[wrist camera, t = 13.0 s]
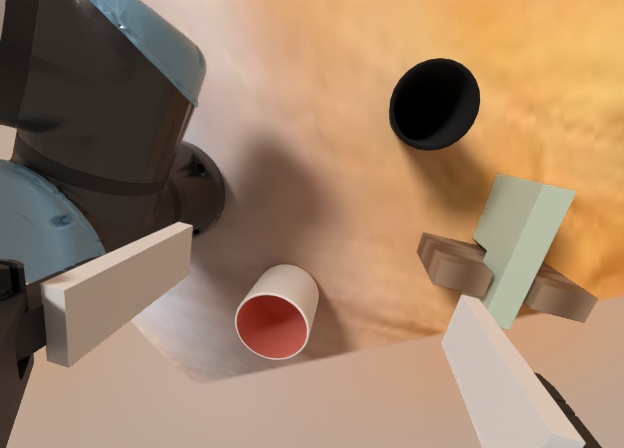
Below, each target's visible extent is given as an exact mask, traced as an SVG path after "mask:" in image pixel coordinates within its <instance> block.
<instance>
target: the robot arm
mask: <svg viewBox="0 0 624 448" xmlns="http://www.w3.org/2000/svg"><path fill="white" fill-rule="evenodd" d="M205 74H206V61H205V58H204V55H203V54H202V52H201V50H200V49H199V48H198V47H197V46H196V45H195V44H194V43H193V42H192V41H191V40H190V39H189V38H187V37H186V36H185V35H184V34H183V33H181V32H180V31H179V30H178V29H176V28H175V27H174V26H173V25H171V24H170V23H169V22H168V21H166V20H165V19H164V18H162V17H161V16H160V15H159V14H157V13H156V12H155V11H153V10H152V9H151V8H150V7H148V6H147V5H146V4H144V3H143V2H142V1H140V0H0V125H5V126H9V127H13V128H16V129H17V133H16V138H15V144H14V148H13V154H12V157H11V159H10V160H9V161H6V160H3V159H1V160H0V448H6V446H7V443H8V440H9V436H10V433H11V430H12V427H13V424H14V421H15V418H16V415H17V412H18V409H19V406H20V403H21V400H22V397H23V394H24V391H25V388H26V385H27V382H28V379H29V376H30V373H31V370H32V367H33V364H34V355H33V353H34V352H36V351H38V350H39V349H41V348H42V347H44V346H45V345H46V353H47V361H50V362H53V363H56V364H59V365H62V366H65V367H70V366H72V365H73V364H74V363H76V362H77V361H78V360H79V359H81V358H82V357H83V356H85V355H86V354H87V353H88V352H90V351H91V350H92V349H94V348H95V347H96V346H98V345H99V344H100V343H101V342H103V341H104V340H105V339H107V338H108V337H109V336H110V335H112V334H113V333H114V332H116V331H117V330H118V329H119V328H121V327H122V326H123V325H125V324H126V323H127V322H128V321H130V320H131V319H132V318H134V317H135V316H136V315H137V314H139V313H140V312H141V311H143V310H144V309H145V308H146V307H148V306H149V305H150V304H152V303H153V302H154V301H155V300H157V299H158V298H159V297H161V296H162V295H163V294H164V293H166V292H167V291H168V290H170V289H171V288H172V287H173V286H175V285H176V284H177V283H179V282H180V281H181V280H182V279H184V278H185V277H186V276H188V275H189V267H190V255H191V243H192V238H195V237H197V236H199V235H201V234H203V233H204V232H206V231H208V230H209V229H210V228H211V227H212V226H214V224H215V223H216V222H217V221H218V219H219V217H220V215H221V213H222V210H223V206H224V200H225V192H224V185H223V181H222V178H221V175H220V173H219V171H218V169H217V167H216V165H215V164H214V162H213V161H212V160H211V159H210V157H209V156H208V155H207V154H206V153H204V152H203V151H202V150H201V149H199V148H198V147H196V146H194V145H193V144H190V143H188V142H185V141H182V139H183V137H184V134H185V132H186V129H187V127H188V124H189V122H190V119H191V117H192V114H193V112H194V109H195V107H196V108H197V106H198V101H197V100H198V96H199V93H200V90H201V87H202V84H203V81H204V77H205ZM26 282H27V283H30V284H28V285H26ZM441 344H442V346H443V349H444V352H445V354H446V357H447V359H448V362H449V364H450V367H451V369H452V372H453V374H454V377H455V380H456V382H457V385H458V387H459V390H460V392H461V395H462V397H463V400H464V402H465V405H466V407H467V410H468V413H469V415H470V417H471V420H472V423H473V425H474V428H475V430H476V433H477V435H478V438H479V440H480V443H481V445H482V448H602V447H601V446H600V445H599V444H598V442H597V441H596V440H595V438H594V437H593V436H592V435H591V434H590V432H589V431H588V429H587V428H586V427H585V426H584V425H583V423H582V422H581V420H580V419H579V418H578V417H577V416H575V413H574V411H573V410H572V409H571V408H570V407H569V405H568V404H566V401H565V400H564V399H563V397H562V396H561V395H560V394H559V392H558V391H557V390H556V389H555V388H554V386H552V385H551V384H550V383H549V382H548V381H547V380H546V379H544V378H543V377H542V376H541V375H540V374H538V373H534V372H533V371H532V370H531V369H530V367H529V366H528V364H527V363H526V362H525V360H524V359H523V358H522V357H521V355H520V354H519V353H518V351H517V350H516V348H515V347H514V346H513V344H512V343H511V342H510V340H509V339H508V337H507V336H506V335H505V333H504V332H503V331H502V329H501V328H500V327H499V325H498V324H497V323H496V321H495V320H494V319H493V317H492V316H491V315H490V313H489V312H488V311H487V309H486V308H485V306H484V305H483V304H482V302H481V301H480V300H479V299H478V298H474V297H470V296H466V295H461V297H460V299H459V302H458V304H457V307H456V309H455V312H454V314H453V316H452V319H451V321H450V324H449V326H448V329H447V331H446V334H445V336H444V339H443V341H442V343H441Z"/></svg>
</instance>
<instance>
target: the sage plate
mask: <svg viewBox="0 0 624 448" xmlns="http://www.w3.org/2000/svg"><path fill="white" fill-rule="evenodd" d="M575 194H576V191H573V190H569V189H565V188H560V187H556V186H552V185H548V184H543V183H539V182H535V181H531V180H526V179H522V178H518V177H513V176H508V175H503V174H499V173H498V174H497V176H496V179H495V181H494V184H493V186H492V189H491V192H490V194H489V197H488V199H487V202H486V204H485V207H484V209H483V212H482V214H481V217H480V220H479V222H478V225H477V227H476V230H475V232H474V235H473V237H472V238H473V239H474V240H476V241H477V242H478V243H479V244H480V245H481V246H482V247H484V248H485V249H486V250H487V252H486V255H485V257H484V259H483V263H485V264H486V265H487V266H488V267H489V268H490V269H491V270H492V271H493V272H494V274H493V276H492V278H491V281H490V283H489V285H488V287H487V290H486V292H485V294H484V297H481V296H477V295H473V294H470V293H466V292H462V291H461V292H462V294H463V295H466V296H470V297H474V298H478V299H479V300H480V301H481V302H482V304H483V305H484V306H485V308H486V309H487V311H488V312H489V313H490V315H491V316H492V317H493V319H494V320H495V321H496V323H497V324H498V325H499V327H500V328H504V329H507V330H510V328H511V325H512V323H513V321H514V319H515V317H516V315H517V313H518V311H519V309H520V307H521V305H522V303H523V301H524V299H525V297H526V295H527V293H528V291H529V288H530V286H531V284H532V282H533V280H534V278H535V276H536V274H537V272H538V270H539V268H540V266H541V264H542V262H543V260H544V258H545V255H546V253H547V251H548V249H549V247H550V245H551V243H552V241H553V239H554V237H555V235H556V233H557V231H558V229H559V227H560V224H561V222H562V220H563V218H564V216H565V214H566V212H567V210H568V208H569V206H570V204H571V202H572V200H573V198H574V196H575Z"/></svg>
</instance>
